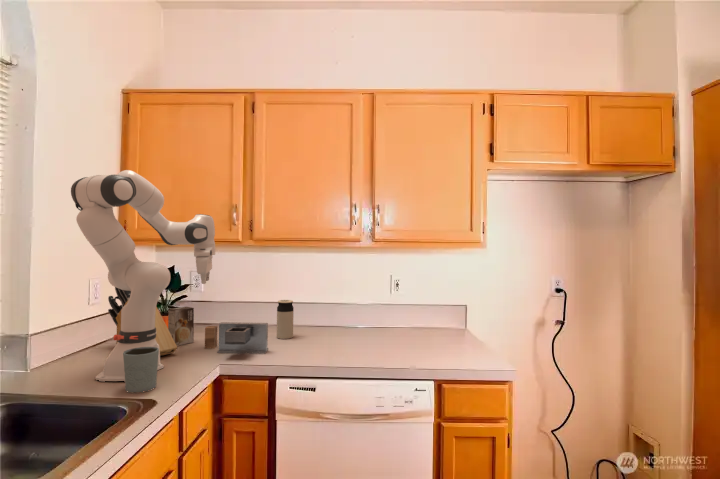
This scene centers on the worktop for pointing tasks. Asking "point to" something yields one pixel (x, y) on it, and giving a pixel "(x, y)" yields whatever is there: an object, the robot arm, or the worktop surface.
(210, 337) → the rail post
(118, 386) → the worktop surface
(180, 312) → the coffee box
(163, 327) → the knife block
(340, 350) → the worktop surface
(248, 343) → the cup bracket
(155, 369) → the grey-green planter pot
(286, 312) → the travel mug
